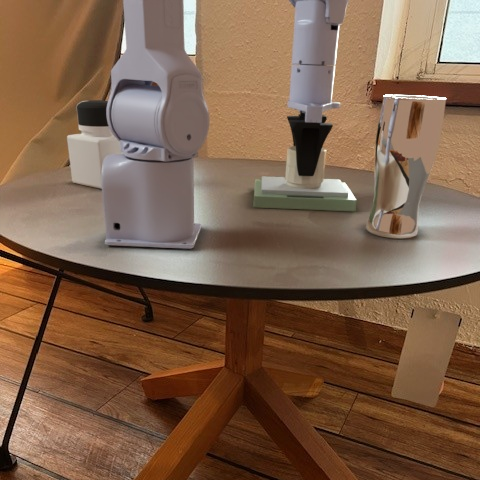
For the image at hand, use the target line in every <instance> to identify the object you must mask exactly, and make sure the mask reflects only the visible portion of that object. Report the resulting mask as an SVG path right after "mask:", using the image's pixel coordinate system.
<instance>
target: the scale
mask: <svg viewBox="0 0 480 480" xmlns="http://www.w3.org/2000/svg"><path fill="white" fill-rule="evenodd" d="M253 190H254V191H253V208H257V209H259V208H260V209H281V210H282V209H283V210H307V211H308V210H309V211H332V212H333V211H334V212H356V210H357V203H358V200H357V198H356V196H354V194H353V192H352V191H351V189H350V188H349V186H348V185H347V184H346V182H342V181H341V179H340V178H339V179H338V178H324V181H323V182H322V183H321V186H320V187H318V188H310V189H306V188H295V187H291V186H288V185H287V184H286V180H285V176H263V175H262V176H261V179H257V178H255V180H254V189H253Z"/></svg>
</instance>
